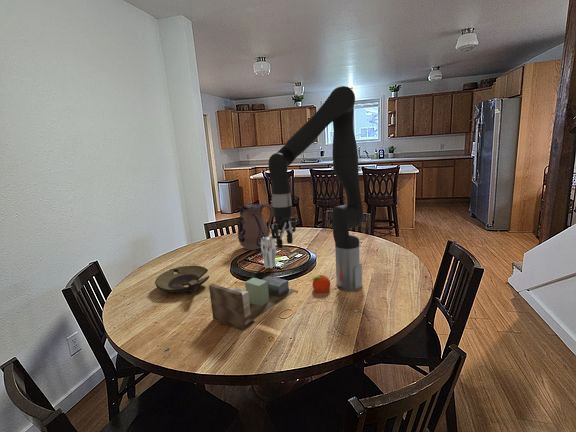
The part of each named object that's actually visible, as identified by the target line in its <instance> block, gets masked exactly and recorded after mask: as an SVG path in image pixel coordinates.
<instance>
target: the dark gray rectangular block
mask: <svg viewBox="0 0 576 432" xmlns="http://www.w3.org/2000/svg"><path fill="white" fill-rule="evenodd" d="M261 280H265V281H267V282H268V293H269V295H272V296H276V297H279V298H280V297H281V296H283V295H284V294H286V293H287V292H289V289H290V286H289V280H287V279H283V278H279V277H276V276H275V277H274V276H272V275H267V276H265V277H264V278H261Z"/></svg>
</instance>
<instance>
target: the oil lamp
mask: <svg viewBox="0 0 576 432" xmlns="http://www.w3.org/2000/svg"><path fill="white" fill-rule="evenodd" d="M208 272H209V270H208V268H206V267H205V266H201V265H185V266H184V265H183V266H177V267H175V268H174V267H173V268H170V269H169V270H166V271H164V272H162V273H160V274H159V275H158V276H157V278H156V279H155V281H154V284H155V286H156V288H157V289H159V290H160V291H163V292H168V293H169V292H170V293H183V292H184V293H185V292H189V293H195V292H196V291H197V290H198V288H199V287H200V286H202V285H203V284H204V283H206V282H207V280H209V278H210V275H207V276H205V277H203V276H204V275H206V273H208ZM202 277H203V278H202ZM184 285H187V286H184Z"/></svg>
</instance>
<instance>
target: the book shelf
mask: <svg viewBox="0 0 576 432" xmlns="http://www.w3.org/2000/svg"><path fill="white" fill-rule="evenodd" d="M208 290H209V291H208V292H209V297H210V305H211V311H212V312H211V313H212V319H213V320H215V321H217V322H219V323H221V324H224V325H227V326H229V327H231V328H234V329H236V330H239V331H241V332H244V330H246V329H247V328H248V327H251V326H252V325H253V324H254V323H256V321H255V319H257V318H258V317H259V316H261V315H263V314H264V313H265V312H267V311H268V310H269V309H271V308H273V307H274V306H276V305H277V304H279V303H280V302H281V301H283V300H285V299H286V298H288V296H290V295H292V294H293V293H295V292H297V291H296V289H292V288H289V292H287V293H286V294H284V295H283V296H281V297H280V298H279V297H276V296H272V295H269V302H268V303H266V304H264V305H263V306H258V305H254V304H251V303H249V293H248V291H246V290H244V289H241V288H237V287H234V286H231V287H230V288H227V287H224V286H220V285H218V284H215V283H211V284H209V285H208Z"/></svg>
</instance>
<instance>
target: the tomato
mask: <svg viewBox="0 0 576 432" xmlns="http://www.w3.org/2000/svg"><path fill="white" fill-rule="evenodd" d="M310 282H312V284H311V285H312V288H313V290H314V291H315V292H316V293H321V294H322V293H327V292H328V291H329V290H330V288H331V281H330V279H329V278H328V277H327V276H325V275H323V274H319V275H316V276H314V277H313V278H312V279H311V281H310Z"/></svg>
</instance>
